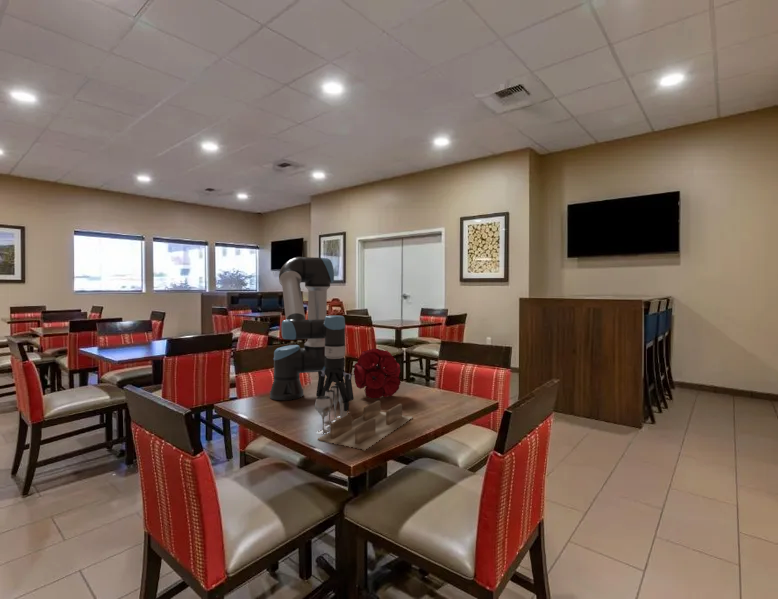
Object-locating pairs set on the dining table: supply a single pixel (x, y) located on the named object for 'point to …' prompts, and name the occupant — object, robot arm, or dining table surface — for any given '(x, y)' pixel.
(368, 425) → the glass rack
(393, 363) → the bouquet
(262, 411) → the dining table surface
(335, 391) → the goblet set
